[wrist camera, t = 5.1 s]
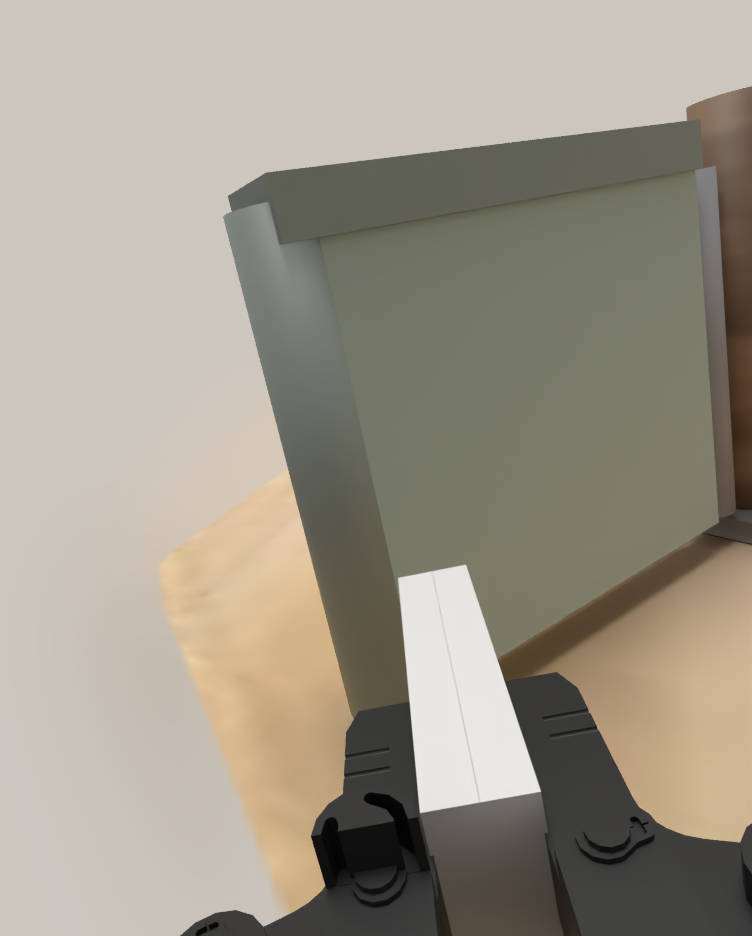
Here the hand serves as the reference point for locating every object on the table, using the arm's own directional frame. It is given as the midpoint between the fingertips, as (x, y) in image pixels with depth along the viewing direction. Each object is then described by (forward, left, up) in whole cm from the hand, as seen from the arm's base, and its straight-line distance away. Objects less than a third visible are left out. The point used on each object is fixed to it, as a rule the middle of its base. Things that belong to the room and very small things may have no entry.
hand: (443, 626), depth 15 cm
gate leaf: (-10, -6, -5) cm, 12 cm away
